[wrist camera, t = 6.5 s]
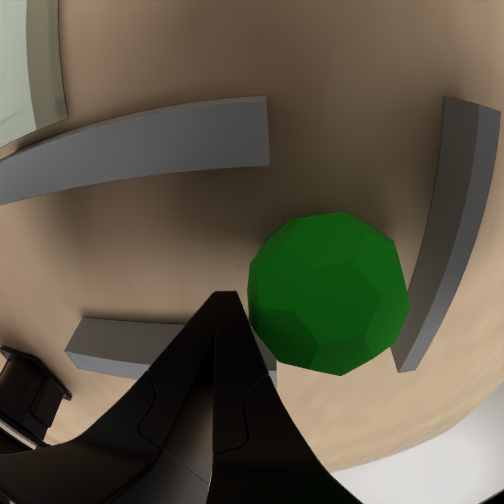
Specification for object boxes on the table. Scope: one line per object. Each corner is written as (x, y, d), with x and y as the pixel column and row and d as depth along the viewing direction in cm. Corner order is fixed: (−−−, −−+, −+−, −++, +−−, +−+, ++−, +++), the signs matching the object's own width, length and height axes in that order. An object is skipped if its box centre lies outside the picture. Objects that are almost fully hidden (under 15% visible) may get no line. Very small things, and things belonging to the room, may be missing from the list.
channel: (97, 340, 15) (81, 373, 13) (13, 141, 8) (-27, 162, 6) (404, 340, 13) (417, 378, 11) (465, 101, 7) (511, 115, 5)
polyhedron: (358, 303, 12) (384, 399, 8) (246, 294, 12) (236, 398, 8) (397, 199, 9) (466, 287, 5) (259, 177, 9) (252, 268, 5)
